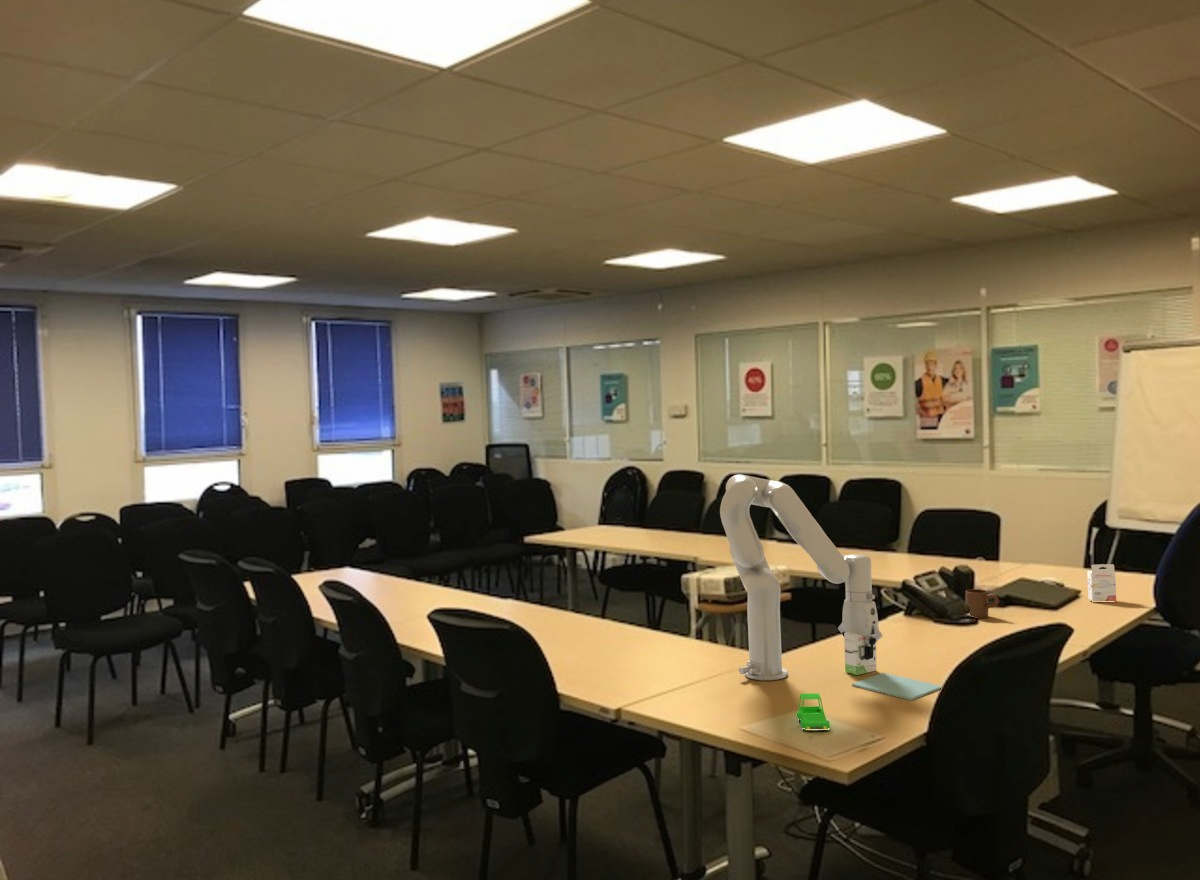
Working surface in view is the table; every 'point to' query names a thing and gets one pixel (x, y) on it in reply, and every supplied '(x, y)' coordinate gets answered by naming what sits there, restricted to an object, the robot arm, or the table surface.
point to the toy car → (812, 713)
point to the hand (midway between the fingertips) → (860, 656)
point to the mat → (897, 686)
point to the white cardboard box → (857, 655)
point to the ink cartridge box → (1101, 583)
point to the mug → (980, 602)
